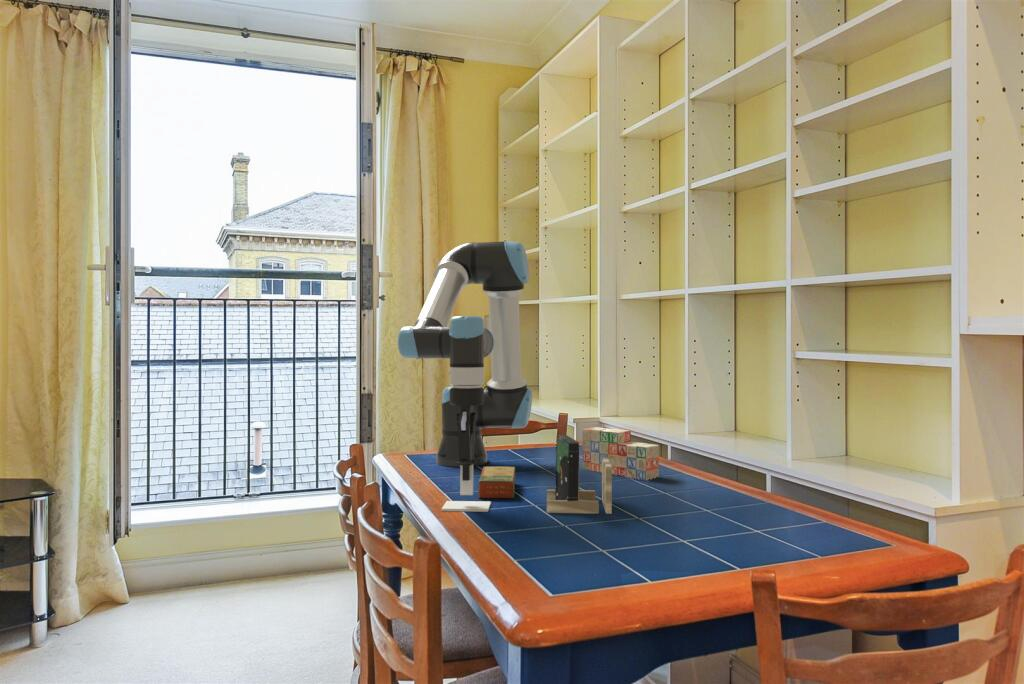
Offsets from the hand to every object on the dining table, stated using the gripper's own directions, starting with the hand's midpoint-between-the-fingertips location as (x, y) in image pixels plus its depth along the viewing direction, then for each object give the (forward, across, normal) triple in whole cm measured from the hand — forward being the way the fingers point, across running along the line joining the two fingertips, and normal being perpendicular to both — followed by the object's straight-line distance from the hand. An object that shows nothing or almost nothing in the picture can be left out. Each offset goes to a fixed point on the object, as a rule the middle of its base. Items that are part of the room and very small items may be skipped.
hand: (466, 494), depth 149 cm
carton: (+5, -22, +5) cm, 23 cm away
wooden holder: (+3, -2, +23) cm, 23 cm away
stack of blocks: (+3, -38, +37) cm, 53 cm away
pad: (+3, 0, 0) cm, 3 cm away
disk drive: (+3, -2, +22) cm, 22 cm away
